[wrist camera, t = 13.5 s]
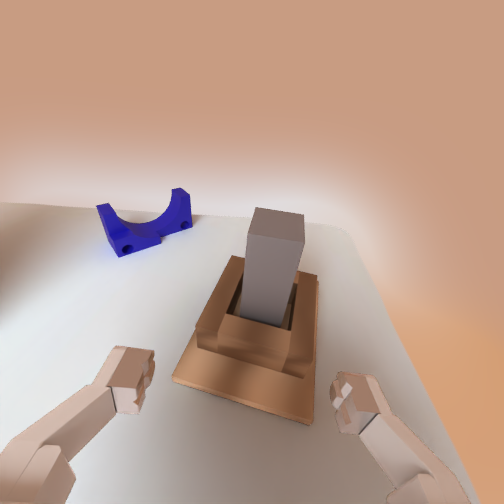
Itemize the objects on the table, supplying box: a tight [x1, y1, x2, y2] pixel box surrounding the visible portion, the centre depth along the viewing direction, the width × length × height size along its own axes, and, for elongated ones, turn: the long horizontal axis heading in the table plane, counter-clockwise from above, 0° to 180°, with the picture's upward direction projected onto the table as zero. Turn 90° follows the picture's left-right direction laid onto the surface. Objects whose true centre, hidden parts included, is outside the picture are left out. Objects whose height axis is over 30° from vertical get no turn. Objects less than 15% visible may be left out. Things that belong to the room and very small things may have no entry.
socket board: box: [172, 255, 319, 425], centre depth 25 cm, size 12×16×4 cm
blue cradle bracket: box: [96, 188, 192, 257], centre depth 35 cm, size 12×4×6 cm, turn 130°
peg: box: [240, 207, 305, 328], centre depth 22 cm, size 4×4×12 cm
